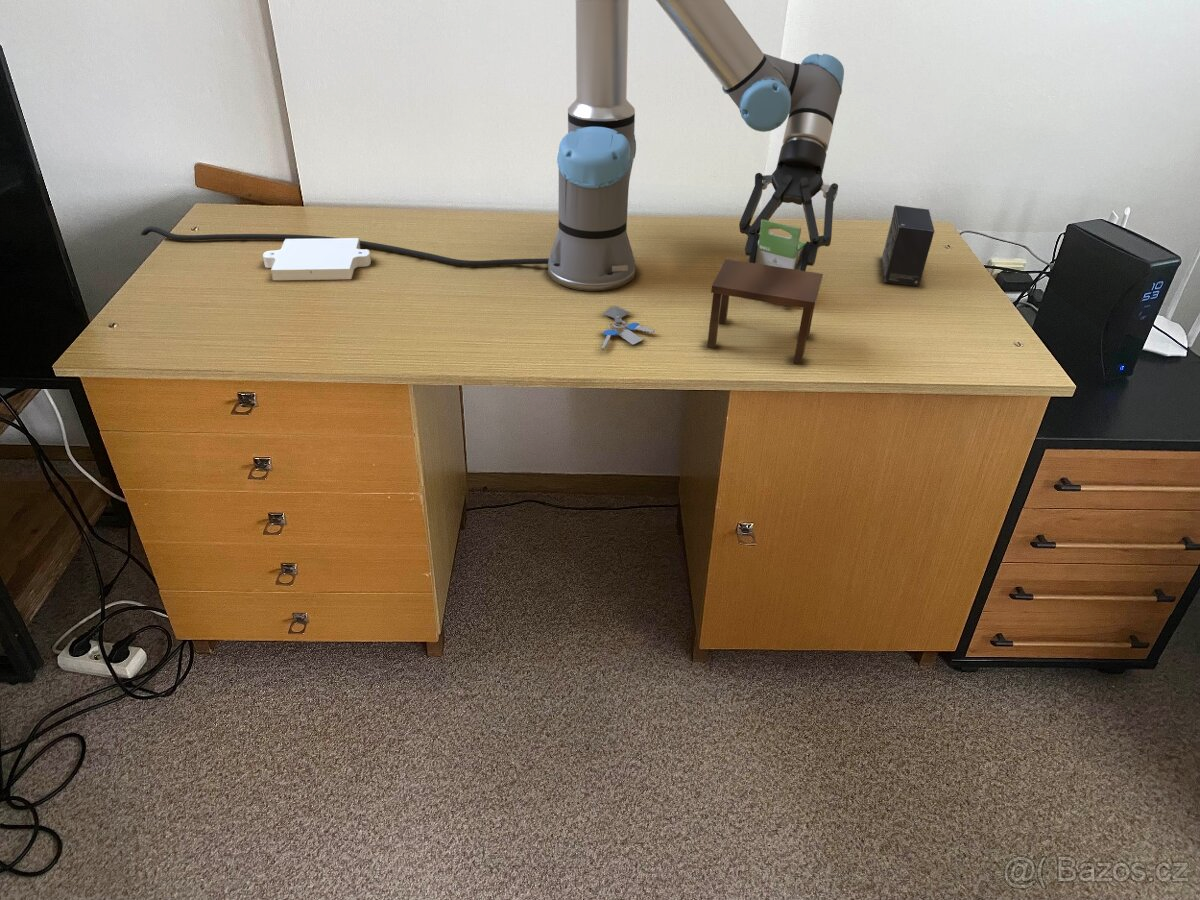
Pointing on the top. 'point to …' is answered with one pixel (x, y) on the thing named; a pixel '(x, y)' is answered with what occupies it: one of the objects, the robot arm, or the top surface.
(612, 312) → the key chain
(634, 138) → the robot arm
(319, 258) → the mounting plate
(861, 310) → the top surface
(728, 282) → the side table
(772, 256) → the ink box
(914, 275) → the small box
